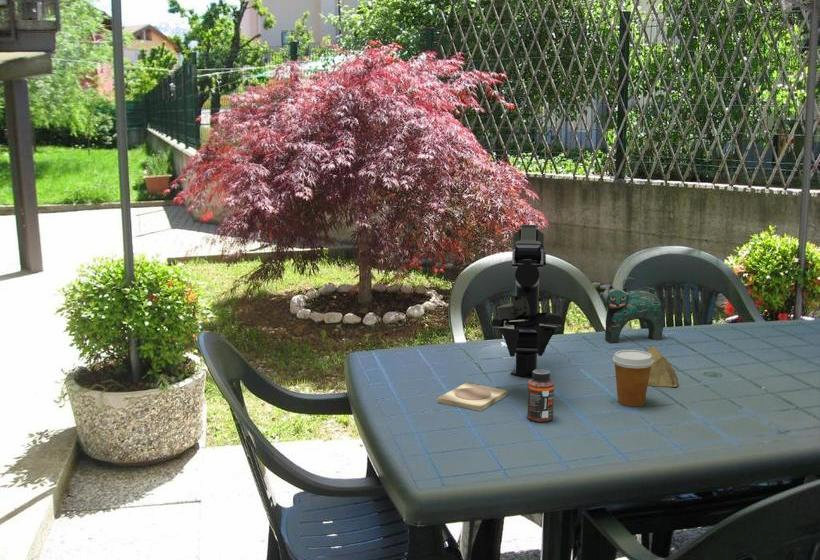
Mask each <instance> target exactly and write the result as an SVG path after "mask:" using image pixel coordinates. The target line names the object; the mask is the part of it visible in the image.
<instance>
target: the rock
mask: <svg viewBox="0 0 820 560" xmlns="http://www.w3.org/2000/svg"><path fill="white" fill-rule="evenodd" d="M646 352H647V353H649V354H651V356H652V359H653V363H652V366H651V370H650V375H649V381H648V386H650V387H664V388H665V387H668V388H669V387H670V388H674V387H675V388H677V387H678V386H679V379H678V376H677V373H676V371H675V369H674V368H673V367H672V365H671V363H670V362H669V361H668V359H667V358H666V357H665V356H664V355H663V354H662V353H661V352H660V351H659V350H658V348H656V347H653V346H649V347H648V350H647V351H646ZM648 386H647V387H648Z"/></svg>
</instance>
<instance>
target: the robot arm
mask: <svg viewBox="0 0 820 560" xmlns="http://www.w3.org/2000/svg"><path fill="white" fill-rule="evenodd" d="M512 239H513V245H512V253H511V255H512V256H511V267H512V269H513V268H514V269H515V272H514V273H515V274H514V278H515V294H514V295H513V296H511V298H510V302H508V303H505V304H502V305H499V306H497V307H496V310H497V314H498V315H497V316H496V315H495V316H494V317H493V318H492V320H491V321H492V323H491V324H492V326H491V328H495V330H496V331H497V332H499V333H500V334H501V335H502V336H503V338H504V340H505V344H506V347H507V350H508V353H509V356H510V357H511V358H513V357H515V369H514V370H512V371H510V375H513V376H518V377H525V378H531V379H532V378H533V377H532V373H533V370H537V369H538V357H542V356H543V355H544V353H545V351H546V348H547V347H548V345H549V342H550V340H552V337H553V336H554V334H555V332H556V331H557V330H559V327H563V317H562V316H561V313H555V312H549V311H548V312H547V311H546V312H545V311H544V312H539V305H540V304H539V303H542V302H543V297H542V296H541V297H540V271H539V269H544V266H546V265H547V261H546V260H547V255H546V254H547V252H546V251H545V234H544V233H543V232H542V231H540V229H539V225H537V224H522V225H519V229H518V230H517V231H516V232H515V233H513V238H512Z"/></svg>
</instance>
